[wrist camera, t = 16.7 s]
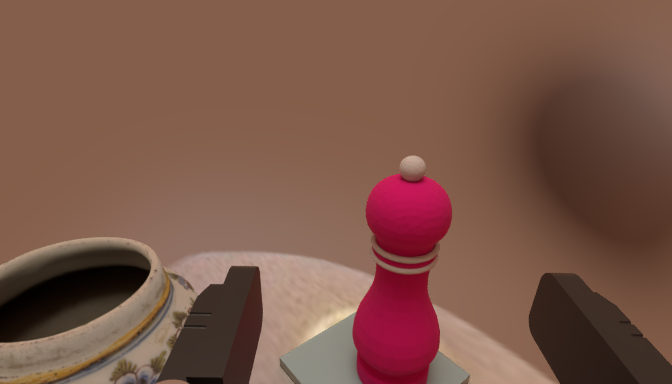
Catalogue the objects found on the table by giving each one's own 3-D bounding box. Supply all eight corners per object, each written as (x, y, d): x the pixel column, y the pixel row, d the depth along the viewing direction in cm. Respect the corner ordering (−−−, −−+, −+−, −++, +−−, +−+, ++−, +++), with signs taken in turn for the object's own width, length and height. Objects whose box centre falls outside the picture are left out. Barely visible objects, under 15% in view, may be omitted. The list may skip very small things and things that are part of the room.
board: (280, 365, 35) (279, 357, 35) (373, 308, 42) (373, 301, 42) (371, 476, 27) (371, 467, 27) (468, 382, 34) (469, 374, 34)
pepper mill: (423, 337, 37) (452, 140, 29) (442, 407, 31) (488, 178, 22) (349, 337, 37) (356, 139, 29) (352, 407, 31) (363, 177, 22)
